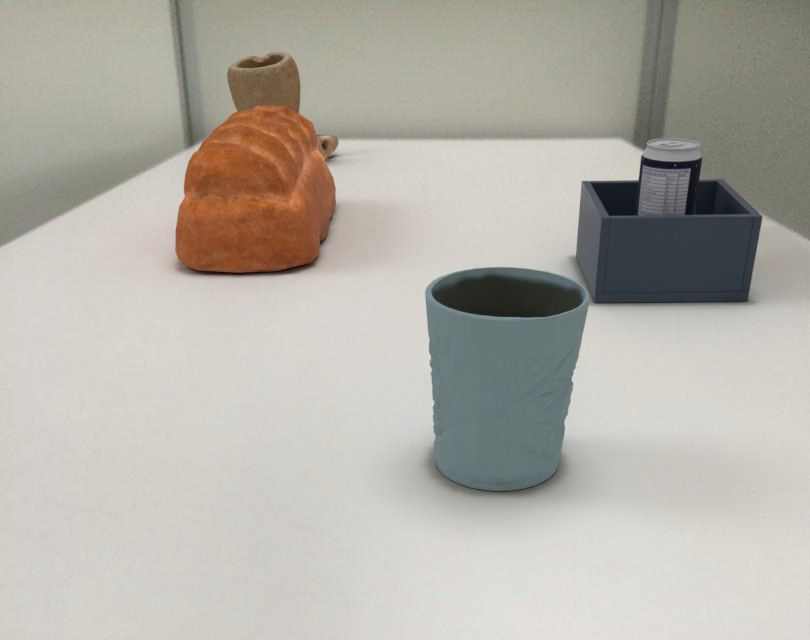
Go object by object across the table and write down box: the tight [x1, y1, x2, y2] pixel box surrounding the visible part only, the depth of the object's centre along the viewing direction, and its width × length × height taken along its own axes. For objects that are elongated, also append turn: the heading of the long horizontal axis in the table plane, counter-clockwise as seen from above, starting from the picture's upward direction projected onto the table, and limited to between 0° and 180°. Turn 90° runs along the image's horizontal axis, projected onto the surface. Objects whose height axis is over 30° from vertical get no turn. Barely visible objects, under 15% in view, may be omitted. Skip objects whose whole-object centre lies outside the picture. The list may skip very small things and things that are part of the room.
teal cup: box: [424, 266, 591, 492], centre depth 63 cm, size 10×10×12 cm
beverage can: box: [635, 137, 703, 216], centre depth 95 cm, size 6×6×12 cm
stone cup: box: [226, 51, 340, 160], centre depth 145 cm, size 15×12×15 cm
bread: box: [174, 106, 337, 274], centre depth 112 cm, size 16×31×13 cm, turn 178°
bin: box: [575, 178, 763, 304], centre depth 97 cm, size 15×15×8 cm
